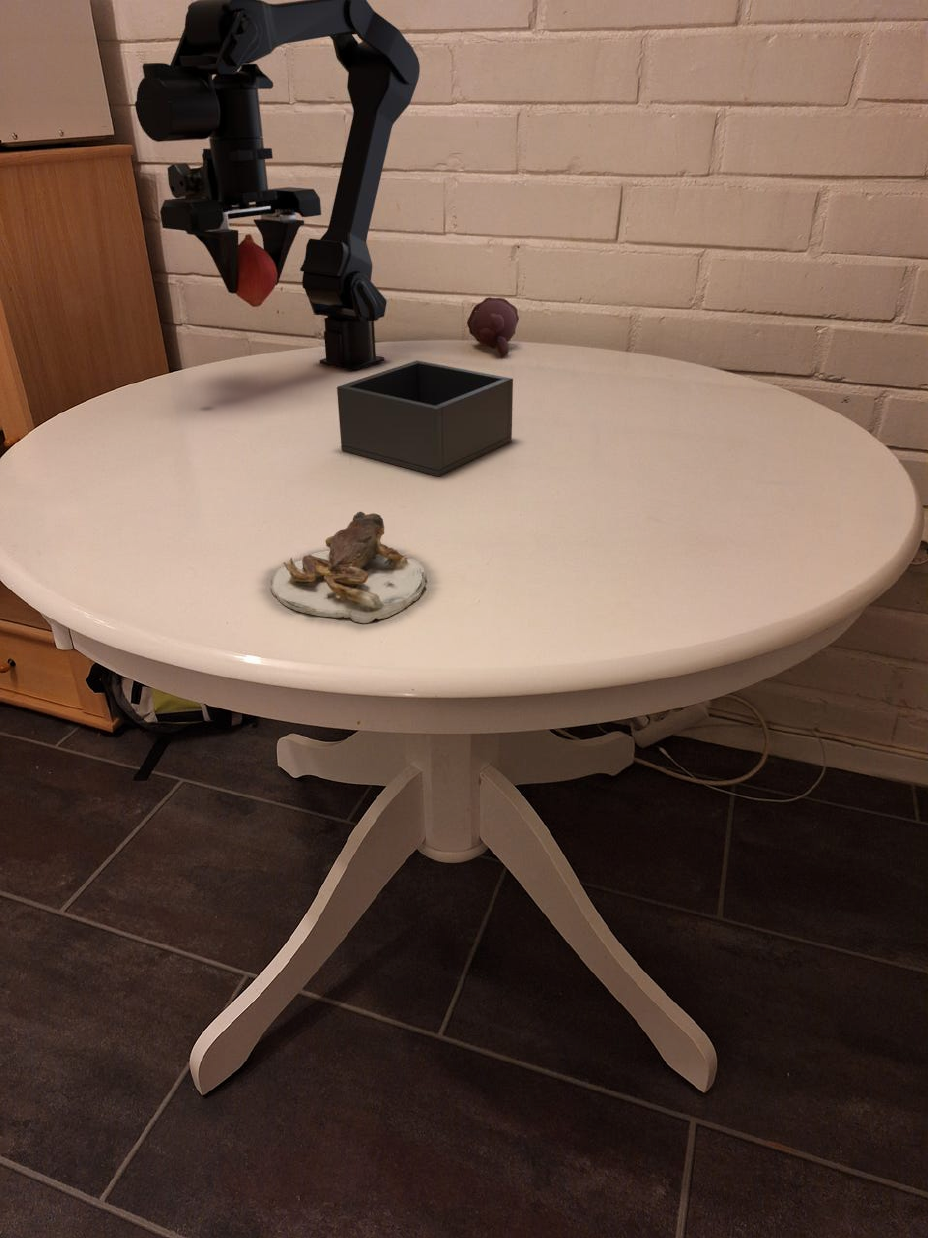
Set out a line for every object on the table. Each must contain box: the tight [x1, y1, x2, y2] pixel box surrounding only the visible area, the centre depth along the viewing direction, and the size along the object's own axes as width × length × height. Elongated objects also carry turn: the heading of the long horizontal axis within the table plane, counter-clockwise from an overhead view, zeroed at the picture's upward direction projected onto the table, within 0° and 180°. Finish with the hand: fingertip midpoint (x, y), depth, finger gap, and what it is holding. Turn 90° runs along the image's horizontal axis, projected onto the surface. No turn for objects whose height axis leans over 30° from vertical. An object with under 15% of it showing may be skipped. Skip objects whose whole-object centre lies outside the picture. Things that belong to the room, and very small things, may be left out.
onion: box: [235, 233, 277, 308], centre depth 105 cm, size 6×6×8 cm
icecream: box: [466, 296, 520, 358], centre depth 129 cm, size 7×7×15 cm
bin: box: [336, 359, 514, 477], centre depth 92 cm, size 13×13×7 cm
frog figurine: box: [270, 511, 427, 624], centre depth 67 cm, size 12×12×4 cm
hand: (253, 288), depth 106 cm, fingers closed on onion, 6 cm apart
